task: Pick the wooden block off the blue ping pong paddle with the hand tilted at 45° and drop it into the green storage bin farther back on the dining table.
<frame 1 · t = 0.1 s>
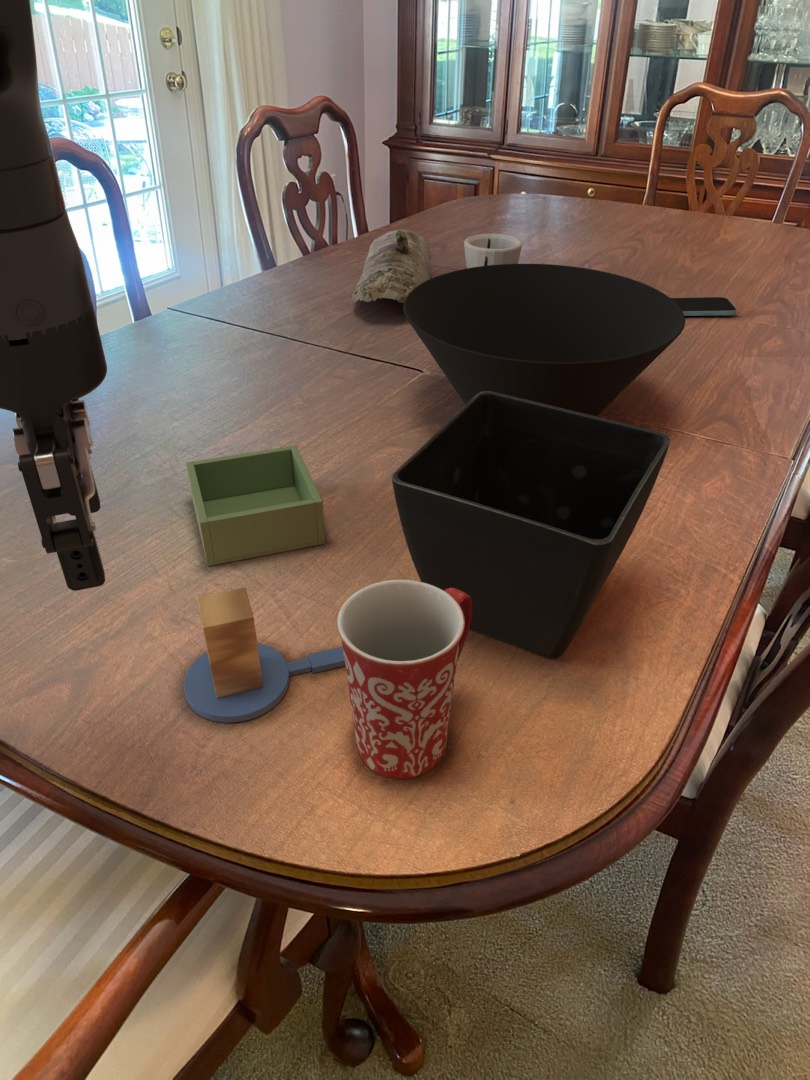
hand: (86, 546, 53), 20 cm above the table, tool pointing down, fingers open, 8 cm apart
bowl: (530, 413, 113), on the table
green storage bin: (257, 522, 91), on the table
log: (393, 298, 151), on the table
smartphone: (688, 310, 145), on the table
blue ping pong paddle: (237, 683, 71), on the table
mug 2: (489, 293, 153), on the table
mug: (415, 732, 67), on the table
wooden block: (236, 677, 71), point 1 cm above the table, touching blue ping pong paddle
flower pot: (519, 605, 80), on the table
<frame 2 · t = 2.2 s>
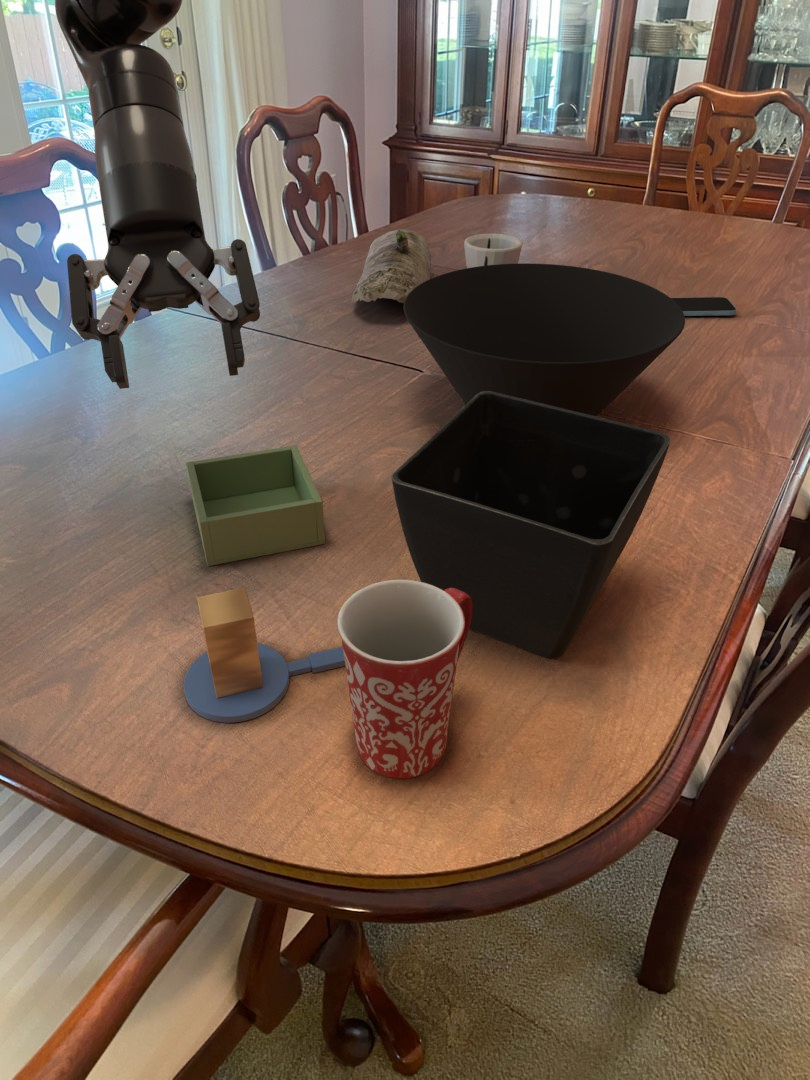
hand: (179, 379, 64), 25 cm above the table, tool tilted 40°, fingers open, 8 cm apart
nothing on the table moved.
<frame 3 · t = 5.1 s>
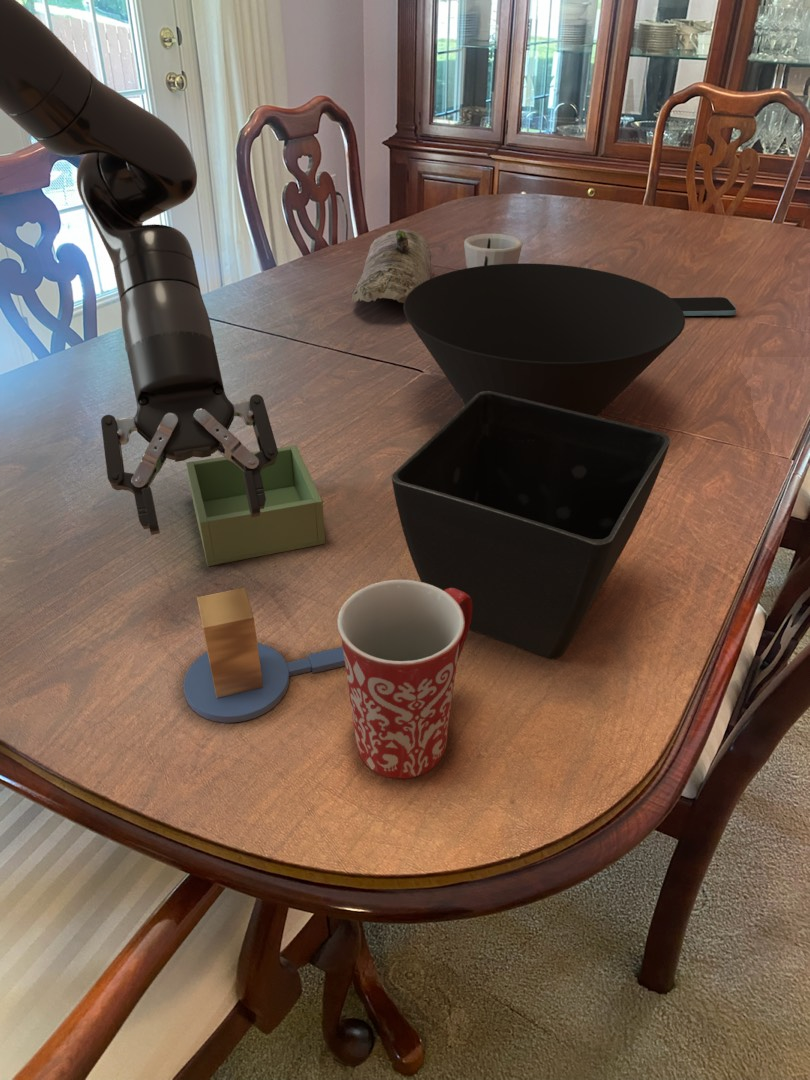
hand: (206, 523, 70), 12 cm above the table, tool tilted 45°, fingers open, 8 cm apart
nothing on the table moved.
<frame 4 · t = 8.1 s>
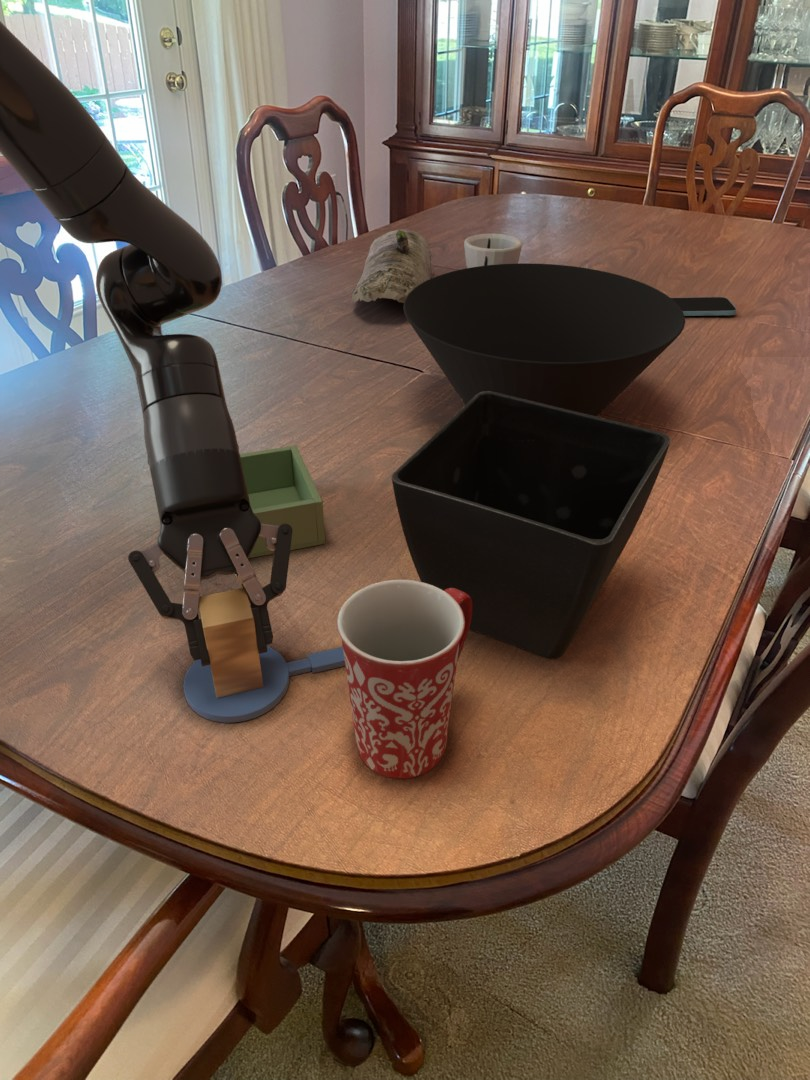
hand: (234, 657, 67), 5 cm above the table, tool tilted 45°, fingers closed on wooden block, 4 cm apart
wooden block: (236, 676, 71), point 1 cm above the table, touching gripper, blue ping pong paddle
everything else where it was.
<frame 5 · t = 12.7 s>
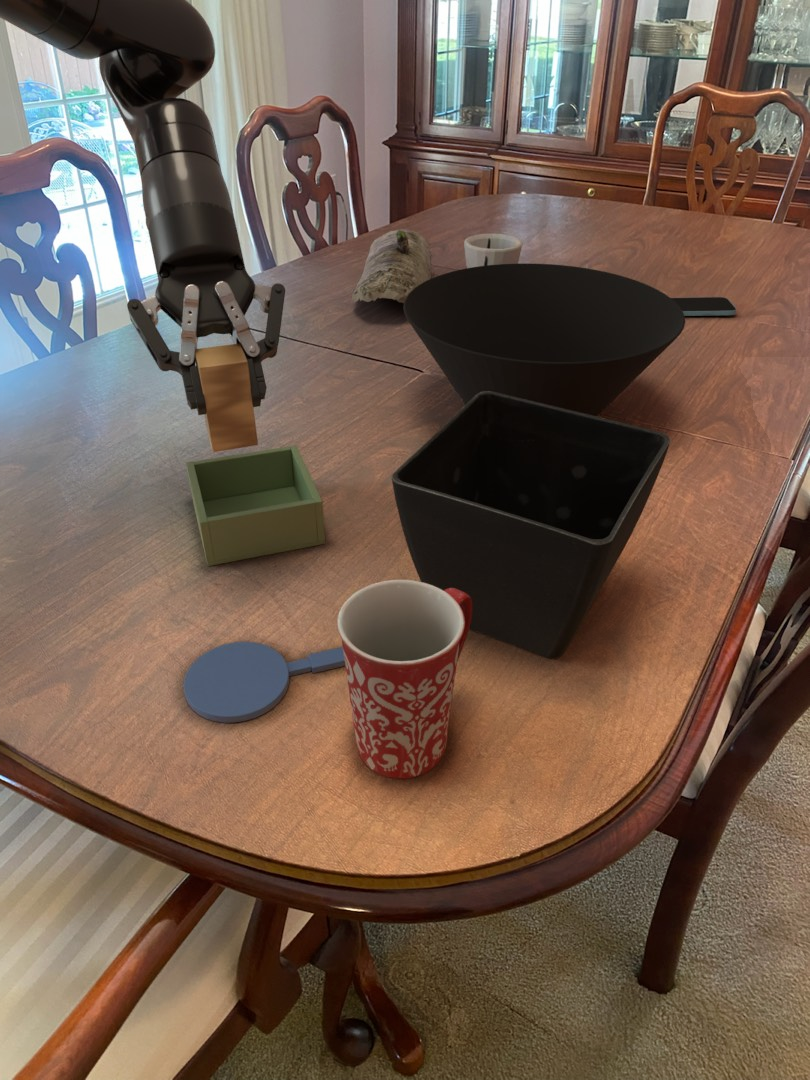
hand: (229, 407, 69), 20 cm above the table, tool tilted 45°, fingers closed on wooden block, 4 cm apart
wooden block: (232, 438, 73), point 16 cm above the table, touching gripper
everything else where it was.
when the fingers open (9 cm above the table, at t = 17.5 s): wooden block drops 4 cm, resting on green storage bin.
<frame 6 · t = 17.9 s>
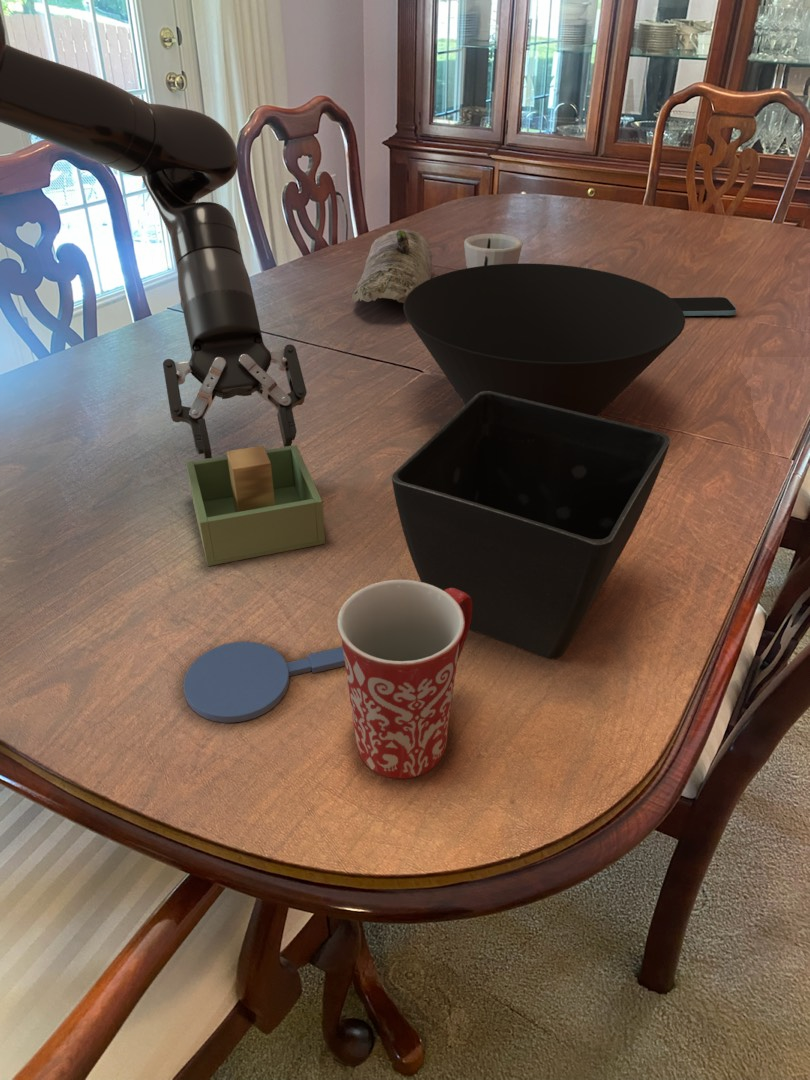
hand: (249, 450, 84), 10 cm above the table, tool tilted 45°, fingers open, 8 cm apart
wooden block: (256, 519, 91), point 1 cm above the table, touching green storage bin
everything else where it was.
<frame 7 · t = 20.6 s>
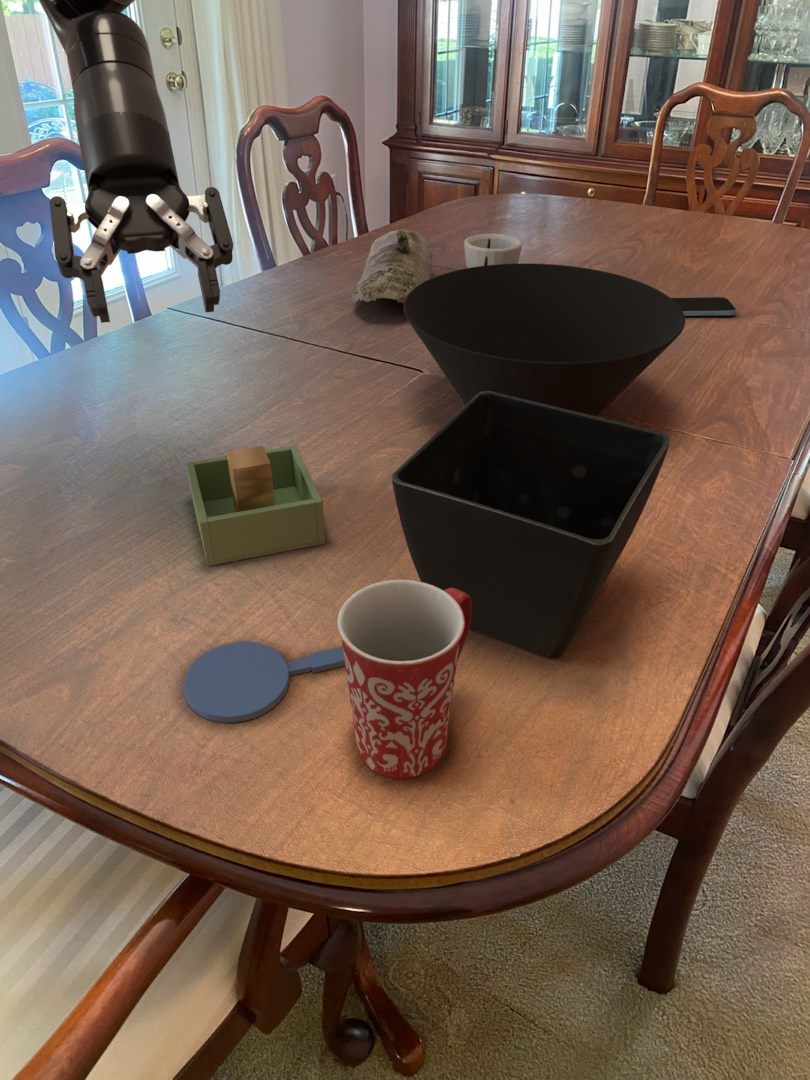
hand: (158, 313, 68), 27 cm above the table, tool tilted 45°, fingers open, 8 cm apart
nothing on the table moved.
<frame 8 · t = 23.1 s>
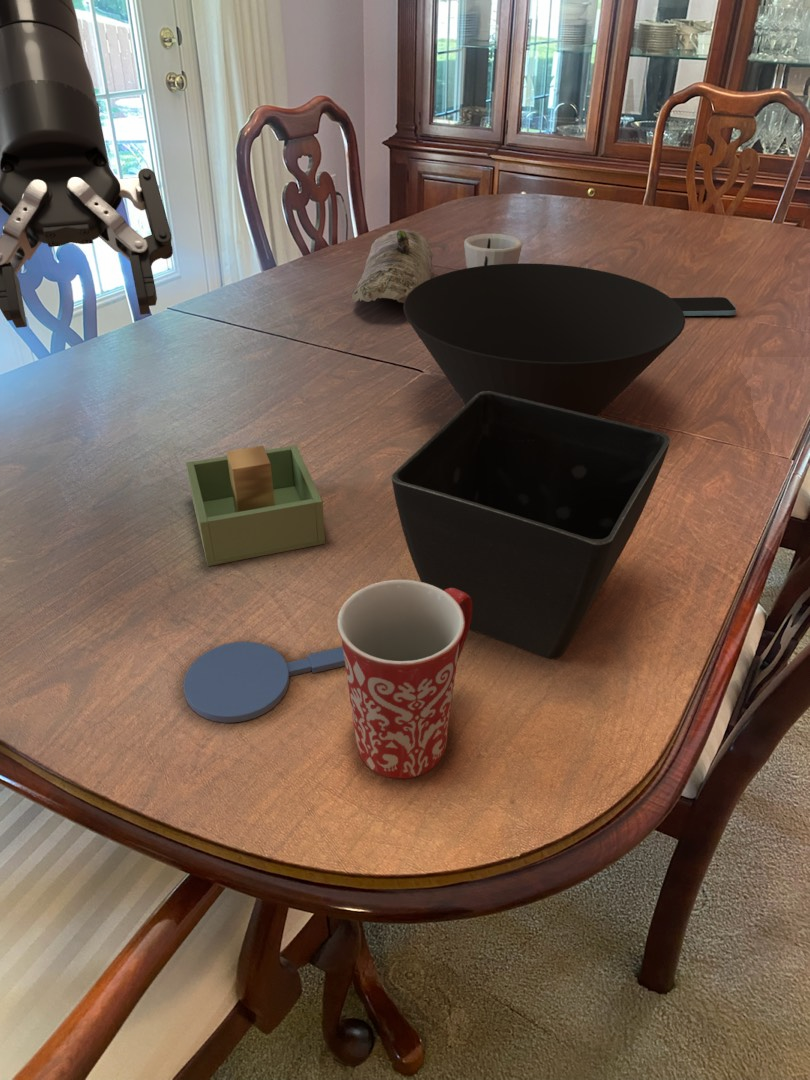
hand: (83, 316, 58), 31 cm above the table, tool tilted 45°, fingers open, 8 cm apart
nothing on the table moved.
at the end: wooden block inside the target area in the green storage bin (0.1 cm from its centre), point 0.5 cm above the green storage bin's base; the gripper is holding nothing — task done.
